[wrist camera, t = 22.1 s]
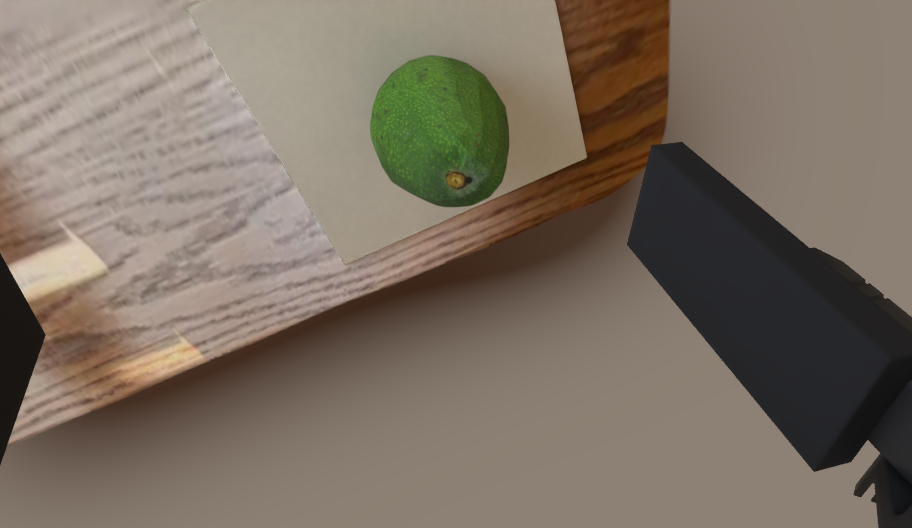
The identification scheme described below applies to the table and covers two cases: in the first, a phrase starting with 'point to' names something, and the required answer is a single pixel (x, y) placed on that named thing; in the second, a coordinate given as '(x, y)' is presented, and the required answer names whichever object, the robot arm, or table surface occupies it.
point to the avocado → (441, 131)
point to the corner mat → (362, 74)
